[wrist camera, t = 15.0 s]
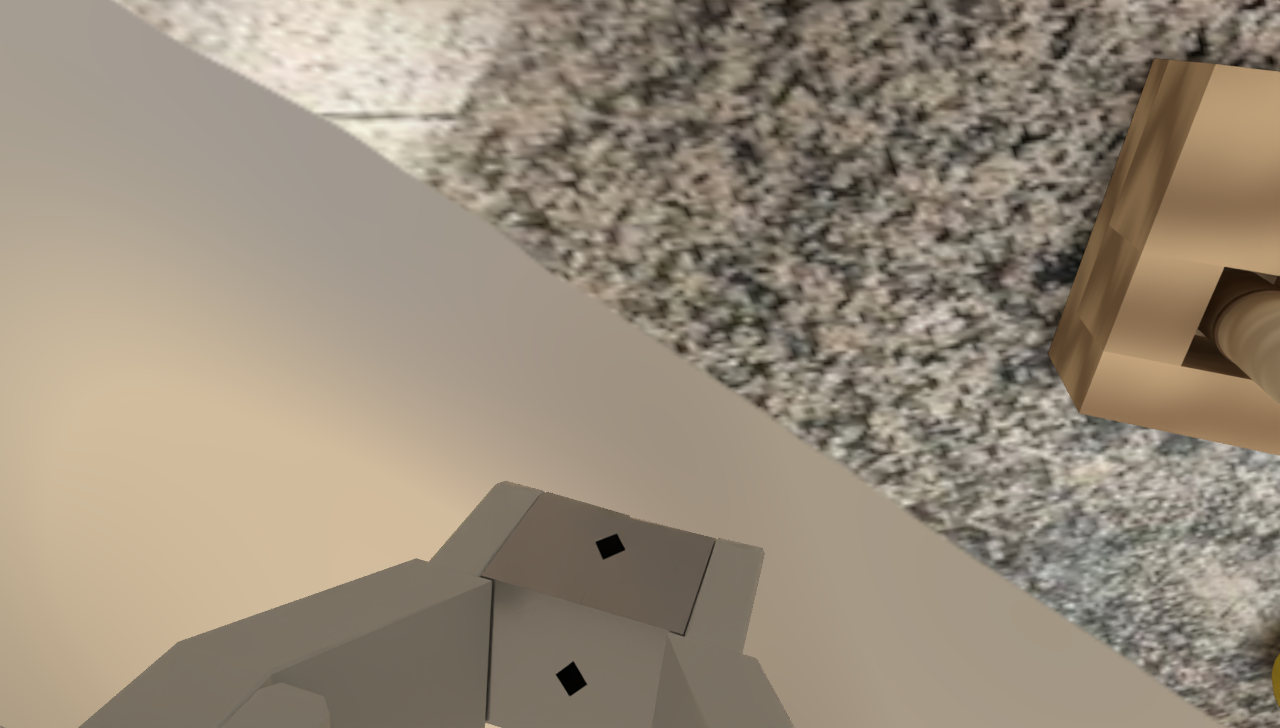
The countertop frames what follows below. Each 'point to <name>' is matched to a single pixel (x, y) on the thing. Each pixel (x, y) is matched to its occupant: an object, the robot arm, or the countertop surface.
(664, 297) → the countertop surface
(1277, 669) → the lemon
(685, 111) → the countertop surface
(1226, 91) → the wooden peg hole block
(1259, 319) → the peg
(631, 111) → the countertop surface
